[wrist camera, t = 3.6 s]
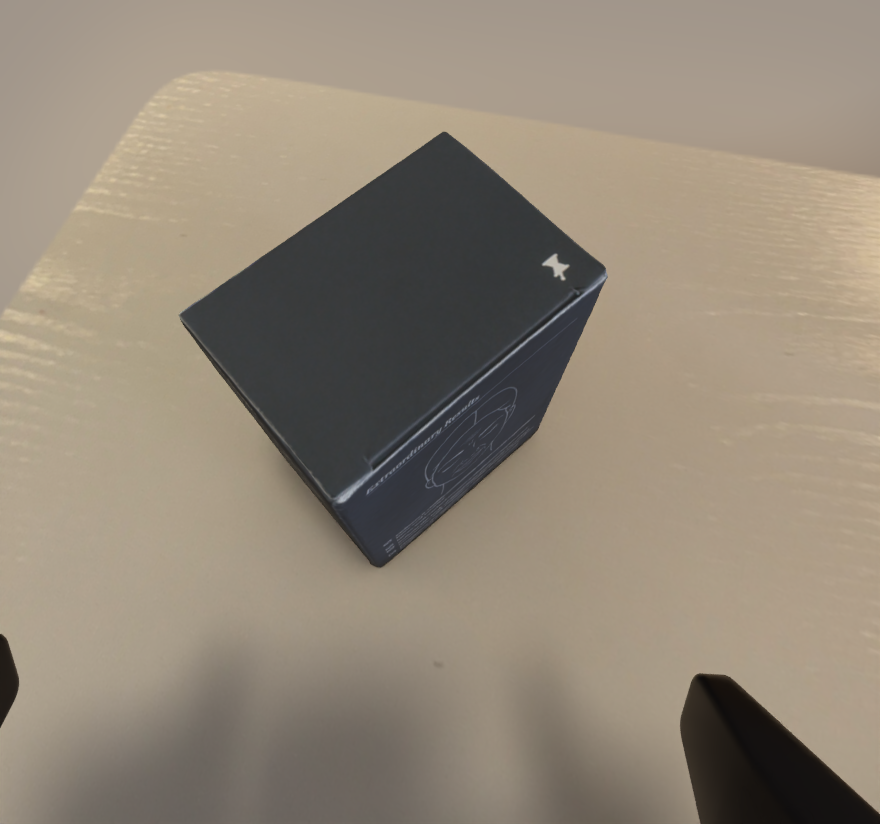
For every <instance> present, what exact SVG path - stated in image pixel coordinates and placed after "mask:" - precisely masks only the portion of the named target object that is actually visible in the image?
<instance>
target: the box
mask: <svg viewBox="0 0 880 824" xmlns="http://www.w3.org/2000/svg"><path fill="white" fill-rule="evenodd" d="M606 279H607V273H606V268H605V266H604V265H603V264H602V263H600V262H599V261H598V260H596V259H595V258H594V257H593V256H591V255H590V254H589V253H588V252H586V251H585V250H584V249H583V248H581V247H580V246H579V245H578V244H577V243H575V242H574V241H573V240H572V239H571V238H570V237H569V236H568V235H566V234H565V233H564V232H563V231H562V230H560V229H559V228H558V227H557V226H556V225H555V224H554V223H552V222H551V221H550V220H549V219H548V218H547V217H546V216H545V215H543V214H542V213H541V212H540V211H539V210H538V209H537V208H536V207H534V206H533V205H532V204H531V203H530V202H529V201H528V200H527V199H525V198H524V197H523V196H522V195H521V194H520V193H519V192H517V191H516V190H515V189H514V188H513V187H512V186H510V185H509V184H508V183H507V182H506V181H505V180H504V179H503V178H502V177H500V176H499V175H498V174H497V173H496V172H495V171H493V170H492V169H491V168H490V167H489V166H488V165H487V164H485V163H484V162H483V161H482V160H480V159H479V158H478V157H477V156H476V155H474V154H473V153H472V152H471V151H470V150H469V149H467V148H466V147H465V146H464V145H462V144H461V143H460V142H459V141H457V140H456V139H455V138H453V137H452V136H451V135H449V134H448V133H447V132H442V133H441V134H439V135H438V136H436V137H435V138H433V139H432V140H431V141H429V142H428V143H426V144H425V145H424V146H422V147H421V148H419V149H418V150H416V151H415V152H413V153H412V154H411V155H409V156H408V157H406V158H405V159H404V160H402V161H401V162H399V163H397V164H396V165H394V166H393V167H392V168H390V169H389V170H387V171H386V172H385V173H383V174H382V175H380V176H379V177H377V178H376V179H374V180H373V181H371V182H370V183H368V184H367V185H366V186H364V187H363V188H361V189H360V190H358V191H357V192H355V193H354V194H353V195H351V196H350V197H348V198H347V199H345V200H344V201H342V202H341V203H340V204H338V205H337V206H335V207H334V208H332V209H331V210H329V211H328V212H327V213H325V214H324V215H322V216H321V217H319V218H318V219H316V220H315V221H313V222H312V223H310V224H309V225H307V226H306V227H304V228H303V229H302V230H300V231H299V232H298V233H296V234H295V235H293V236H292V237H290V238H289V239H287V240H286V241H285V242H283V243H282V244H280V245H279V246H277V247H276V248H274V249H273V250H271V251H270V252H268V253H267V254H265V255H264V256H262V257H261V258H259V259H258V260H257V261H255V262H254V263H252V264H251V265H250V266H248V267H247V268H245V269H244V270H242V271H241V272H239V273H238V274H236V275H235V276H233V277H232V278H231V279H229V280H228V281H226V282H225V283H224V284H222V285H221V286H219V287H218V288H216V289H215V290H213V291H212V292H210V293H209V294H207V295H206V296H204V297H203V298H201V299H200V300H198V301H197V302H195V303H194V304H192V305H191V306H189V307H188V308H186V309H185V310H183V311H182V312H180V314H179V317H180V320H181V322H182V323H183V325H184V326H185V328H186V329H187V330H188V332H189V333H190V334H191V336H192V337H193V338H194V340H195V341H196V343H197V344H198V345H199V347H200V348H201V349H202V351H203V352H204V353H205V355H206V356H207V358H208V359H209V360H210V361H211V363H212V364H213V366H214V367H215V369H216V370H217V371H218V372H219V374H220V375H221V376H222V377H223V379H224V380H225V381H226V382H227V384H228V385H229V386H230V388H231V389H232V390H233V392H234V393H235V394H236V395H237V397H238V398H239V399H240V401H241V402H242V403H243V404H244V406H245V407H246V408H247V409H248V411H249V412H250V413H251V415H252V416H253V417H254V418H255V420H256V421H257V422H258V424H259V425H260V426H261V428H262V429H263V430H264V432H265V433H266V434H267V435H268V437H269V438H270V440H271V441H272V442H273V443H274V445H275V446H276V447H277V449H278V450H279V451H280V453H281V454H282V455H283V456H284V458H285V459H286V460H287V461H288V463H289V464H290V465H291V466H292V467H293V469H294V470H295V471H296V472H297V473H298V475H299V476H300V477H301V478H302V480H303V481H304V482H305V483H306V485H307V486H308V487H309V488H310V489H311V491H312V492H313V493H314V494H315V496H316V497H317V498H318V499H319V500H320V502H321V503H322V504H323V505H324V507H325V508H326V509H327V510H328V511H329V513H330V514H331V515H332V516H333V518H334V519H335V520H336V521H337V522H338V524H339V525H340V526H341V527H342V528H343V530H344V531H345V532H346V533H347V535H348V536H349V537H350V538H351V539H352V541H353V542H354V543H355V544H356V545H357V546H358V548H359V549H360V550H361V551H362V553H363V554H364V555H365V556H366V557H367V559H368V560H369V561H370V564H372V565H374V566H376V567H381V566H383V565H385V564H386V563H387V562H389V561H390V560H391V559H392V558H393V557H394V556H396V555H397V554H398V553H399V552H400V551H401V550H403V549H404V548H405V547H406V546H407V545H408V544H409V543H410V542H411V541H413V540H414V539H415V538H416V537H417V536H418V535H420V534H421V533H422V532H423V531H424V530H425V529H427V528H428V527H429V526H430V525H431V524H432V523H433V522H435V521H436V520H437V519H438V518H439V517H440V516H441V515H442V514H443V513H445V512H446V511H447V510H448V509H449V508H450V507H451V506H453V505H454V504H455V503H456V502H457V501H458V500H459V499H461V498H462V497H463V496H464V495H465V494H466V493H467V492H469V491H470V490H471V489H472V488H473V487H474V486H475V485H477V484H478V483H479V482H480V481H481V480H482V479H483V478H484V477H486V476H487V475H488V474H489V473H490V472H491V471H492V470H494V469H495V468H496V467H497V466H498V465H499V464H500V463H501V462H502V461H504V460H505V459H506V458H507V457H508V456H509V455H510V454H511V453H513V452H514V451H515V450H516V449H517V448H518V447H520V446H521V445H522V444H523V443H524V442H525V441H526V440H527V439H528V438H530V437H531V436H532V435H533V434H534V433H535V432H536V431H537V430H538V428H539V425H540V423H541V421H542V418H543V417H544V414H545V412H546V410H547V407H548V405H549V403H550V401H551V399H552V397H553V394H554V392H555V390H556V388H557V386H558V384H559V381H560V380H561V377H562V375H563V373H564V370H565V368H566V366H567V364H568V362H569V360H570V357H571V355H572V353H573V352H574V349H575V347H576V345H577V342H578V340H579V338H580V336H581V334H582V332H583V329H584V327H585V324H586V322H587V320H588V318H589V316H590V314H591V312H592V310H593V307H594V305H595V303H596V301H597V298H598V296H599V293H600V291H601V289H602V286H603V284H604V283H605V281H606Z"/></svg>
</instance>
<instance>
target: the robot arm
mask: <svg viewBox="0 0 880 824" xmlns="http://www.w3.org/2000/svg"><path fill="white" fill-rule="evenodd" d="M18 687H19V677H18V673H17V670H16V666H15V663H14V660H13V657H12V653H11V650H10V647H9V644H8V641H7V639H6V638H5V637H4V636H3V635H2V634H0V728H1V726H2V724H3V722H4V720H5V718H6V716H7V714H8V712H9V710H10V708H11V706H12V704H13V702H14V700H15V698H16V695H17V692H18ZM680 731H681V738H682V742H683V747H684V751H685V756H686V760H687V765H688V769H689V774H690V778H691V783H692V788H693V792H694V797H695V801H696V806H697V810H698V815H699V819H700V824H880V814H879V813H878V812H877V811H876V810H875V809H874V808H873V807H872V806H870V805H869V804H868V803H867V802H866V801H865V800H864V799H863V798H862V797H861V796H860V795H858V794H857V793H856V792H855V791H854V790H853V789H852V788H851V787H850V786H849V785H848V784H846V783H845V782H844V781H843V780H842V779H841V778H840V777H839V776H838V775H837V774H836V773H834V772H833V771H832V770H831V769H830V768H829V767H828V766H827V765H826V764H825V763H824V762H822V761H821V760H820V759H819V758H818V757H817V756H816V755H815V754H814V753H813V752H812V751H810V750H809V749H808V748H807V747H806V746H805V745H804V744H803V743H802V742H801V741H800V740H798V739H797V738H796V737H795V736H794V735H793V734H792V733H791V732H790V731H789V730H788V729H786V728H785V727H784V726H783V725H782V724H781V723H780V722H779V721H778V720H777V719H776V718H774V717H773V716H772V715H771V714H770V713H769V712H768V711H767V710H766V709H765V708H764V707H762V706H761V705H760V704H759V703H758V702H757V701H756V700H755V699H754V698H753V697H752V696H750V695H749V694H748V693H747V692H746V691H745V690H744V689H743V688H742V687H741V686H740V685H738V684H737V683H736V682H735V681H734V680H733V679H731V678H730V677H728V676H726V675H718V674H697V675H695V676H694V678H693V679H692V682H691V685H690V688H689V691H688V695H687V698H686V701H685V705H684V708H683V711H682V715H681V720H680Z"/></svg>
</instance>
